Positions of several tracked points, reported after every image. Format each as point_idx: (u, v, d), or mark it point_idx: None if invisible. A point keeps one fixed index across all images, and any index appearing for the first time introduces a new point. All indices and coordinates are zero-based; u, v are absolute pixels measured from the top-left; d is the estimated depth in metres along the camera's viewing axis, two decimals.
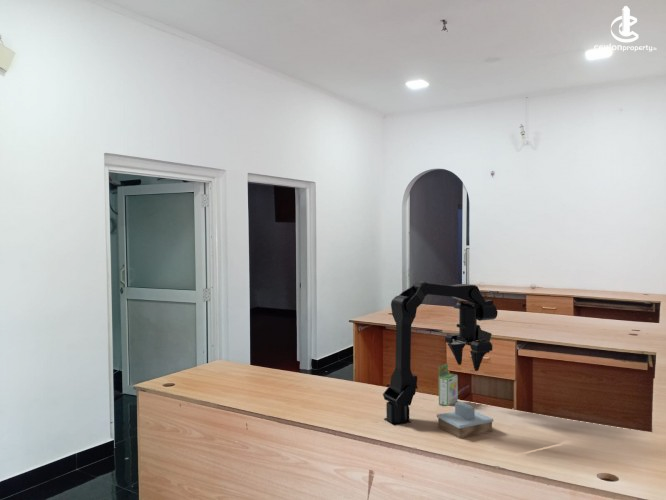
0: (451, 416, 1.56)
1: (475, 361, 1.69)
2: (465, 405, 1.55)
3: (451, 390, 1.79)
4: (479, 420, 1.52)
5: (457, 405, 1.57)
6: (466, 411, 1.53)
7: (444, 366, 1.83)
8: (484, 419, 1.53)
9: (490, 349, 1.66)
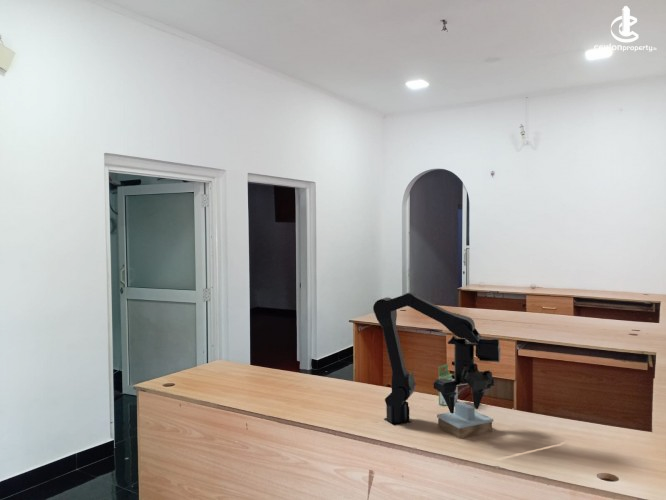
0: (451, 416, 1.56)
1: (445, 400, 1.54)
2: (465, 405, 1.55)
3: None
4: (479, 420, 1.52)
5: (457, 405, 1.57)
6: (466, 411, 1.53)
7: (444, 366, 1.83)
8: (484, 419, 1.53)
9: (442, 390, 1.50)
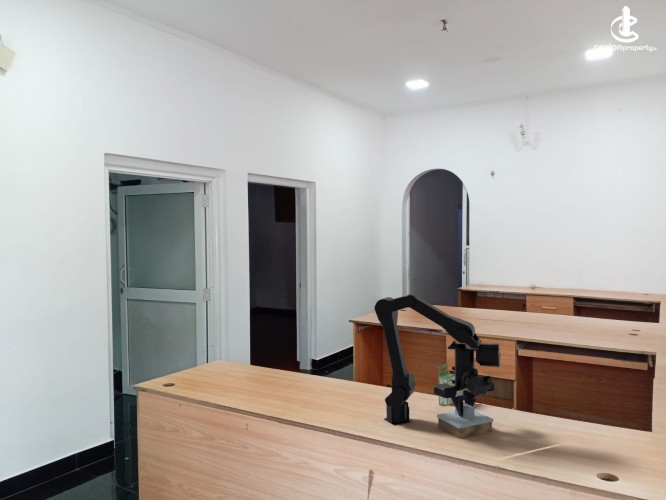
0: (451, 416, 1.56)
1: (454, 404, 1.56)
2: (465, 405, 1.55)
3: None
4: (479, 420, 1.52)
5: None
6: (466, 411, 1.53)
7: (444, 366, 1.83)
8: (484, 419, 1.53)
9: (442, 396, 1.50)
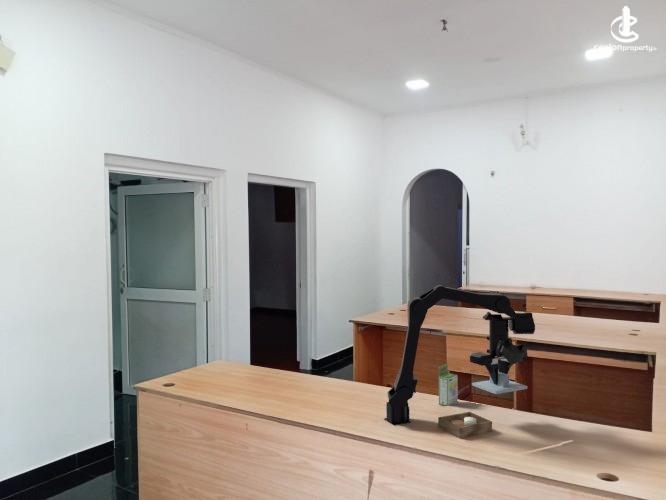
0: (486, 384, 1.62)
1: (489, 372, 1.62)
2: (500, 373, 1.61)
3: (451, 390, 1.79)
4: (514, 387, 1.58)
5: None
6: (501, 378, 1.59)
7: (444, 366, 1.83)
8: (518, 386, 1.59)
9: (479, 363, 1.56)
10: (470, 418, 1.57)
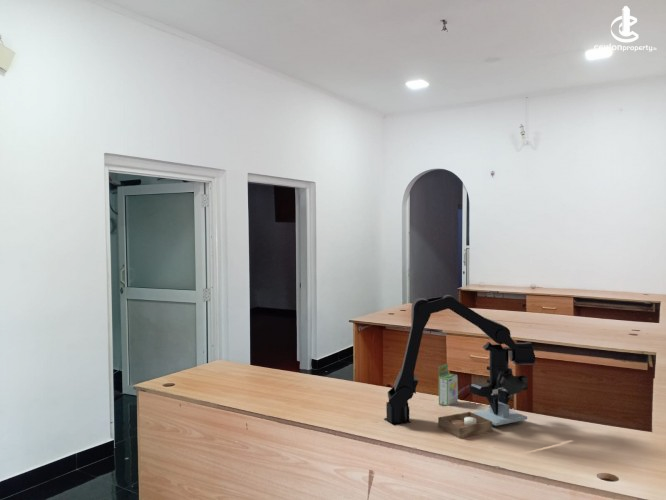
0: (486, 414, 1.62)
1: (489, 402, 1.62)
2: (500, 403, 1.61)
3: (451, 390, 1.79)
4: (514, 418, 1.58)
5: None
6: (501, 409, 1.59)
7: (444, 366, 1.83)
8: (518, 417, 1.59)
9: (479, 394, 1.56)
10: (470, 418, 1.57)
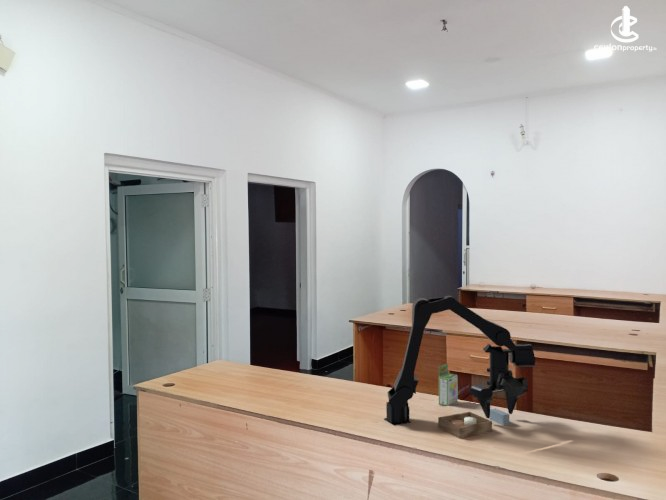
0: None
1: (481, 406, 1.61)
2: (500, 412, 1.61)
3: (451, 390, 1.79)
4: None
5: (492, 412, 1.63)
6: (501, 417, 1.59)
7: (444, 366, 1.83)
8: None
9: (479, 396, 1.56)
10: (470, 418, 1.57)
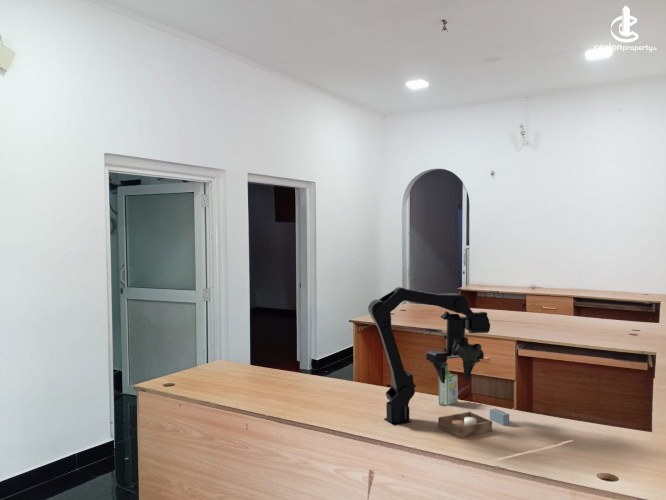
0: None
1: (437, 371, 1.64)
2: (500, 412, 1.61)
3: (451, 390, 1.79)
4: None
5: (492, 412, 1.63)
6: (501, 417, 1.59)
7: None
8: None
9: (434, 361, 1.60)
10: (470, 418, 1.57)
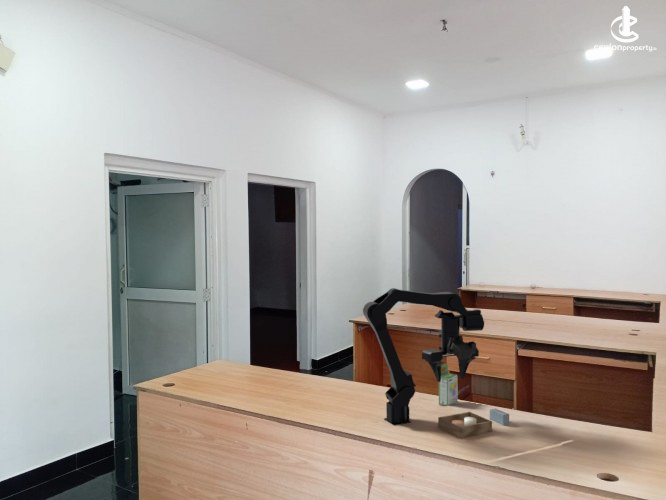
0: None
1: (433, 370, 1.65)
2: (500, 412, 1.61)
3: (451, 390, 1.79)
4: None
5: (492, 412, 1.63)
6: (501, 417, 1.59)
7: (444, 366, 1.83)
8: None
9: (429, 360, 1.60)
10: (470, 418, 1.57)
